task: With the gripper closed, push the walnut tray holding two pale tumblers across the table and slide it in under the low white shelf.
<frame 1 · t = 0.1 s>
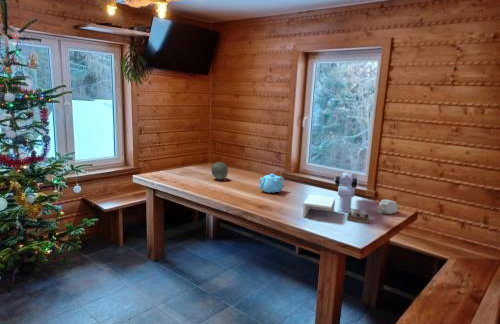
hand: (345, 183, 199), 22 cm above the table, fingers open, 7 cm apart
decorative pot: (271, 191, 259), on the table
cantaloupe: (219, 179, 291), on the table
white shelf: (318, 214, 212), on the table
walnut tray: (358, 219, 204), on the table
grey rounded lump: (387, 213, 220), on the table
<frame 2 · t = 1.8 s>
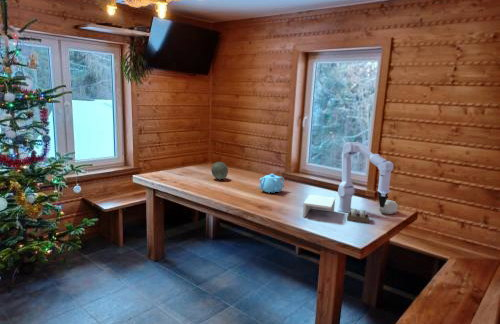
hand: (381, 205, 198), 10 cm above the table, fingers open, 5 cm apart
nothing on the table moved.
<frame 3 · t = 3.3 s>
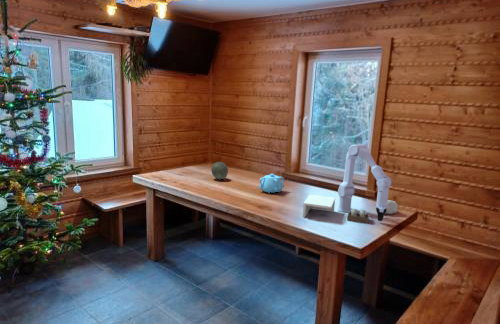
hand: (379, 220, 200), 1 cm above the table, fingers closed
nothing on the table moved.
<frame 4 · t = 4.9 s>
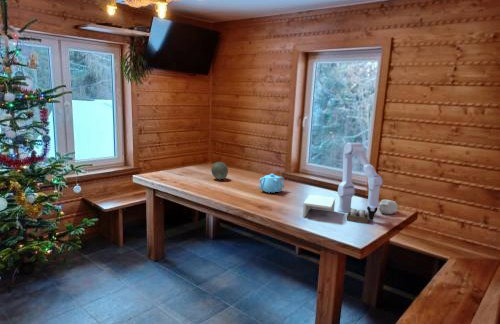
hand: (371, 219, 202), 1 cm above the table, fingers closed, pressing on walnut tray
walnut tray: (357, 219, 204), on the table, touching gripper
everything else where it was.
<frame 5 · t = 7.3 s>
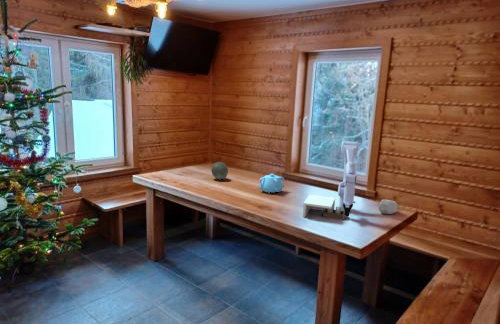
hand: (347, 215, 206), 1 cm above the table, fingers closed, pressing on walnut tray
walnut tray: (334, 216, 209), on the table, touching gripper
everything else where it was.
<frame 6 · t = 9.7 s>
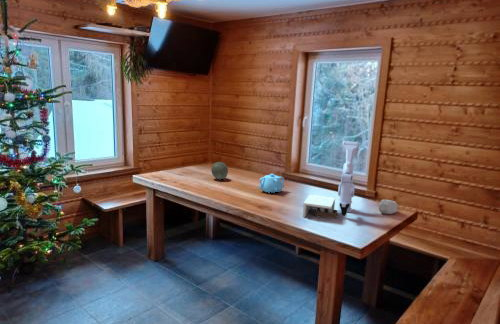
hand: (343, 215, 207), 1 cm above the table, fingers closed
walnut tray: (326, 215, 210), on the table
everything else where it was.
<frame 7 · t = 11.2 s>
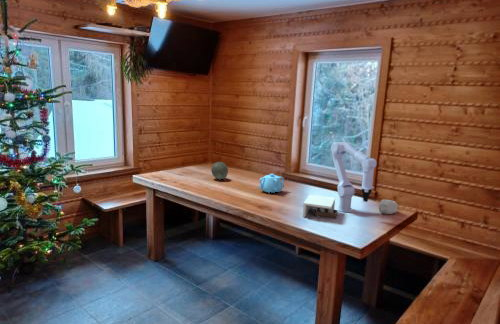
hand: (365, 201, 206), 10 cm above the table, fingers closed
nothing on the table moved.
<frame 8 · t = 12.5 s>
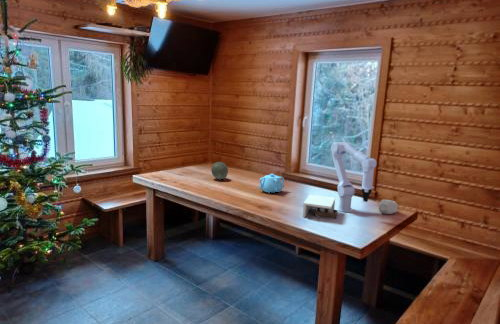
hand: (365, 201, 206), 10 cm above the table, fingers closed
nothing on the table moved.
at the end: walnut tray inside the target area (0.6 cm from its centre), on the table; walnut tray tilted 0° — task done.
